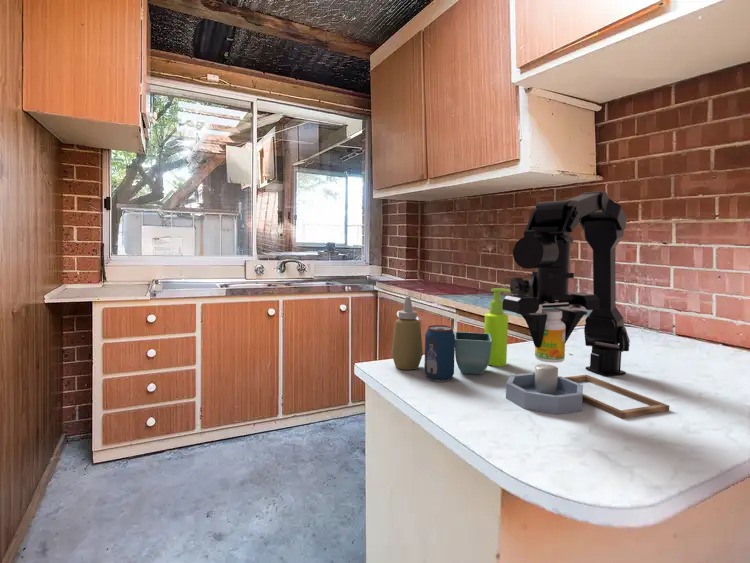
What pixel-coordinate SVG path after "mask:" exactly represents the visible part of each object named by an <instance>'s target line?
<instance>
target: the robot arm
mask: <svg viewBox="0 0 750 563" xmlns="http://www.w3.org/2000/svg"><path fill="white" fill-rule="evenodd" d="M622 207H623V206H621V205H620V204H618V203H617V202H615V201H614V200H612V199H611V198H609V196H608V193H607V192H606V191H602V190H599V191H587V192H585V191H584V192H583V193H580V194H578V195H577V196H574V197H571V198H569V199H566V200H565V199H564V200H554V201H553V200H550V201H540V202H538V203H536V205H535V208H534V209H533V211H532V213H531V215H530V218H529V220H528V223H527V225H526V227H525V229H524V232H523V237H521V238H519V240H518V241H517V242H516V243H515V245H514V248H513V249H512V258H513V260H514V261H515V263H516V265H517V266H519V267H521V268H522V269H527V270H529V269H530V270H531V269H536V270H534V271H532V273H531V275H530V276H531V277H530V279H528V280H527V279H526V280H524V279H523V278H522V277H513V278H510V283H509V290H511V293H510V294H511V295H509V294H508V295H506V296H504V299H503V300H502V301H503V307H502V309H503V311H508V312H511V313H515V314H517V315H520V316H521V317H522V318H523V319H524V321H525V322H526V325H527V328H528V330H529V333H530V336H531V340H532V342H533V345H534V347H537V348H540V346H541V343H542V339H543V334H544V329H545V324H546V320H547V314H543V313H542V309H549V308H553V309H557V310H561V311H562V318H561V321H562V322H564V323H565V326H566V330H565V344H566V343H567V342H568V340H569V338H570V337H571V335H572V333H573V332H574V330H575V328H576V327H577V325H578V324H579V323H580V321H581V320H582V319H583V317H584V316H585V315H588V311H590V314H589V315H588V316H587V317H586V318H585V320H584V321H585V323H584V328H583V330H584V331H583V332H584V340H585V346H586V347H591V353H590V357H589V358H590V362H589V366H585V369H586V370H588V371H590V372H593V373H597V374H599V375H602V376H605V377H609V376H619V375H626V374H627V372H626V370H622V369H621V365H622V353H624V352H629V351H630V344H631V340H630V338H629V334H628V331H627V328H626V326H625V323H624V316H623V315H622V314H621V313H620V311H619V309H618V308H617V302H616V301H617V300H616V299H617V298H616V291H617V290H616V285H617V284H616V273H617V272H616V270H617V269H616V268H617V267H616V249H617V248H616V247H617V246H618V244H619V243H620V242H621V240H622V238H623V237H624V235H625V233H624V231H625V230H626V226H627V217H626V215H625V211H624V210H623V208H622ZM579 224H580V227H581V229H582V230H583V233H584V240H585V241H586V242H587V244H588V245H589V247H590V248H591V249H592V275H593V276H592V283H593V284H592V288H593V291H592V292H593V294H592V293H586V292H585V293H584V292H578V291H577V292H569V283H570V282H569V281H570V280H569V279H574V278H575V273H574V272H571V271H570V259H571V244H572V243H574V238H573V237H572V236H571V233H572V232H573V231H574V229H575V228H577V226H578V225H579ZM583 308H585V310H587V311H584V310H583Z"/></svg>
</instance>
